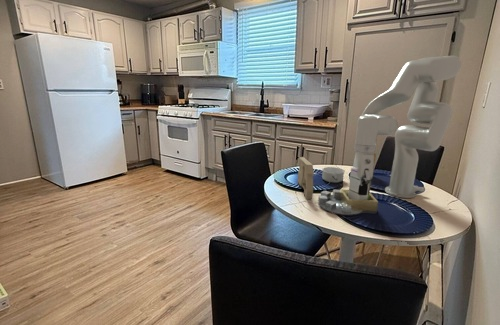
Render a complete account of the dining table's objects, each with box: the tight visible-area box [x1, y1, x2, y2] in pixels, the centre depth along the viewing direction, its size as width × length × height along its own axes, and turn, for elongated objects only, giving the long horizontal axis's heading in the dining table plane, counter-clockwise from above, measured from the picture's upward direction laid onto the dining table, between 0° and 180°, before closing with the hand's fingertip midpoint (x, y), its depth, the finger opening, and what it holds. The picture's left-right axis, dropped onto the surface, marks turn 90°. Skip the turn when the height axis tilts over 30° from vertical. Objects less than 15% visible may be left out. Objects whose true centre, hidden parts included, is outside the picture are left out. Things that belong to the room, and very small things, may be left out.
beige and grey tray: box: [317, 188, 379, 217], centre depth 109 cm, size 21×18×5 cm
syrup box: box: [348, 167, 372, 200], centre depth 107 cm, size 6×6×14 cm
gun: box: [297, 156, 315, 200], centre depth 125 cm, size 24×3×15 cm, turn 179°
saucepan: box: [321, 166, 346, 184], centre depth 136 cm, size 12×20×6 cm, turn 168°
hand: (359, 190), depth 108 cm, fingers closed on syrup box, 7 cm apart
